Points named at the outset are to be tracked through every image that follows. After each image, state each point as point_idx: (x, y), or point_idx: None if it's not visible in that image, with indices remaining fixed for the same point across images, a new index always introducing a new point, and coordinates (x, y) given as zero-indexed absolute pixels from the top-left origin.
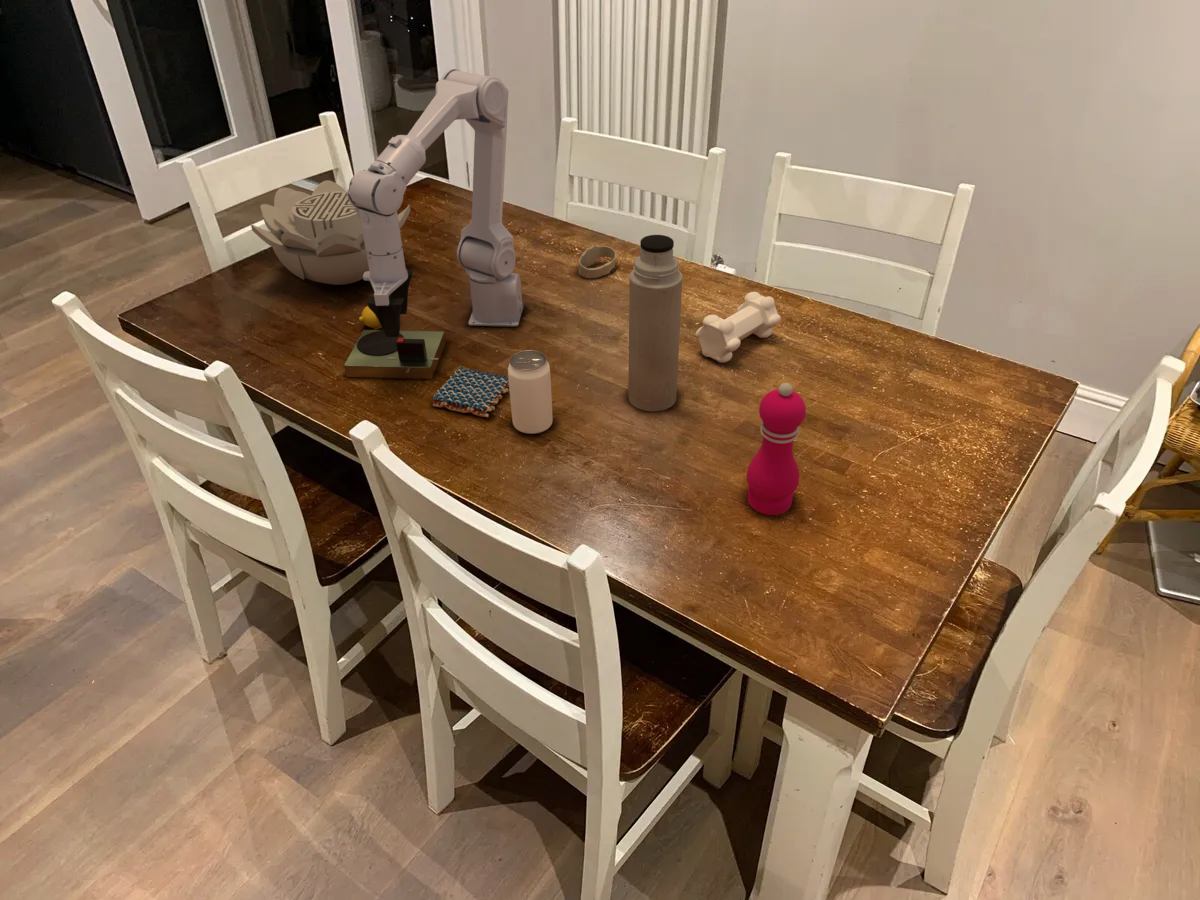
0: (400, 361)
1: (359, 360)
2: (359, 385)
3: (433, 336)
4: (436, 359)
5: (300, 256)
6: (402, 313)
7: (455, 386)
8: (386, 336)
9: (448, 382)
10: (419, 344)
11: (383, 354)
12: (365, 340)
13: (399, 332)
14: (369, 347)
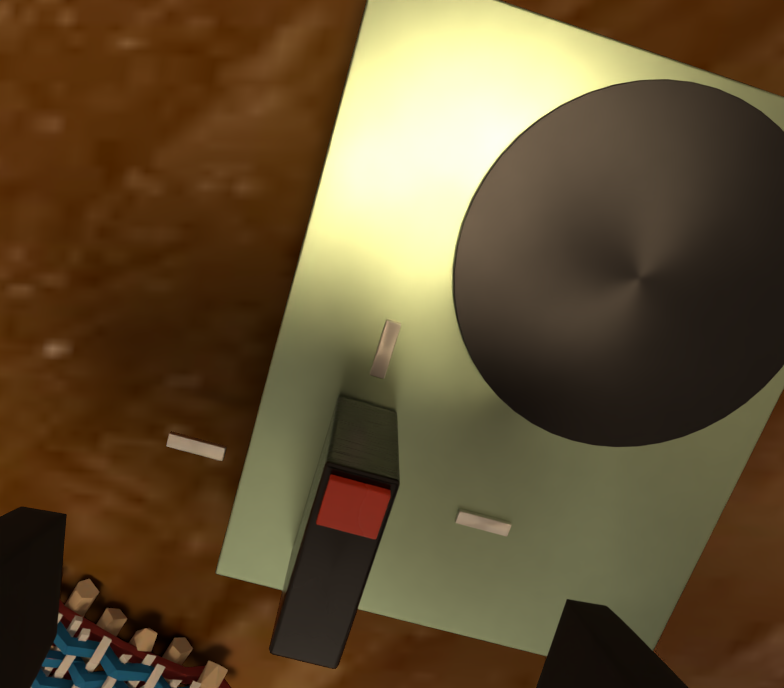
0: (330, 401)
1: (425, 97)
2: (250, 80)
3: None
4: None
5: None
6: (541, 686)
7: None
8: (19, 508)
9: (57, 645)
10: (276, 626)
11: (455, 289)
12: (713, 155)
13: (36, 664)
14: (588, 186)
